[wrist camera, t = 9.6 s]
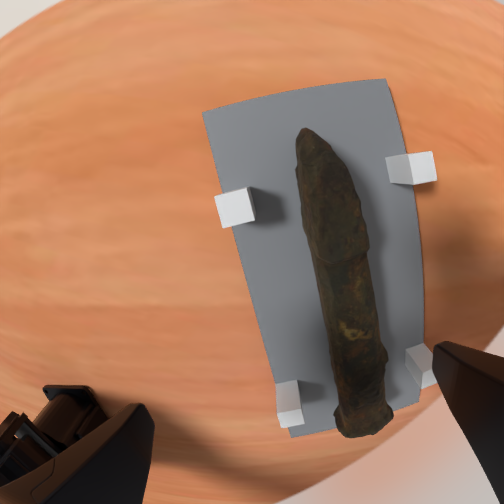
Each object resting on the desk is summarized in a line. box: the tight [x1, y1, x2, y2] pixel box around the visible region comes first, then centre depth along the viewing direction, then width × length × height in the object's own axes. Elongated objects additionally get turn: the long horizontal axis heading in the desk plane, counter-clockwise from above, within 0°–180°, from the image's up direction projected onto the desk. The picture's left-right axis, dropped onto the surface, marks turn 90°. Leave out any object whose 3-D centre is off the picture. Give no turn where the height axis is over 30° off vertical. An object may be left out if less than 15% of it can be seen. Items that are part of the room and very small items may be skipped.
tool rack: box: [202, 79, 437, 438], centre depth 16 cm, size 11×24×4 cm, turn 14°
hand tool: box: [295, 128, 394, 438], centre depth 15 cm, size 19×4×5 cm, turn 14°
